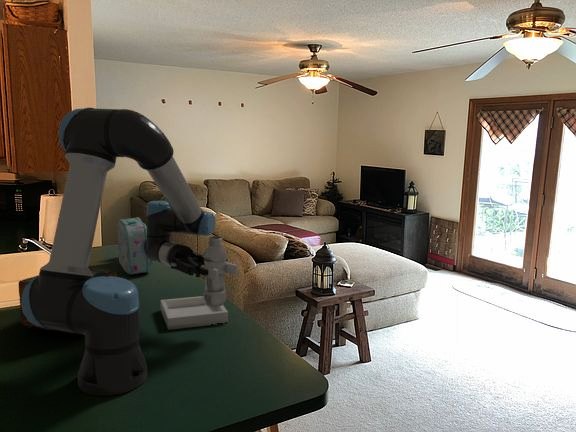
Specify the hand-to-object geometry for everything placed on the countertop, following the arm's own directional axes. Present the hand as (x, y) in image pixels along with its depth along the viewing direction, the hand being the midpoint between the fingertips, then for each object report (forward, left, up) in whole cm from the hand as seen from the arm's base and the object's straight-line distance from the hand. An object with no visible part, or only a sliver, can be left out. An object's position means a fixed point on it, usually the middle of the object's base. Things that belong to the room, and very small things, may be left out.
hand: (227, 272), depth 129 cm
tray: (+19, +5, -19) cm, 28 cm away
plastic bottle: (+5, +2, -11) cm, 12 cm away
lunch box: (+77, +18, -20) cm, 82 cm away
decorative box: (+23, +40, -20) cm, 50 cm away
